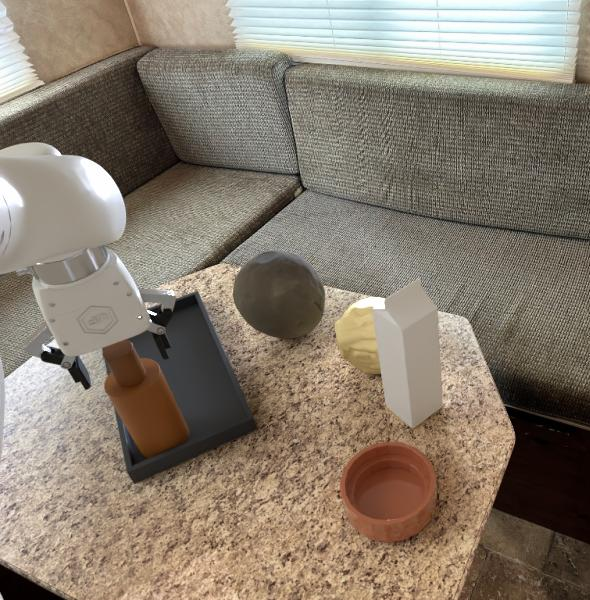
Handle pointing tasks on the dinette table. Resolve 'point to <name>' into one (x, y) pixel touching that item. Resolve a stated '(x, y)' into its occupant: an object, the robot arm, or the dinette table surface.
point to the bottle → (143, 400)
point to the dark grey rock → (279, 294)
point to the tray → (191, 389)
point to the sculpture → (359, 336)
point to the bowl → (389, 491)
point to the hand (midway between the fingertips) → (126, 367)
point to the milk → (409, 353)
